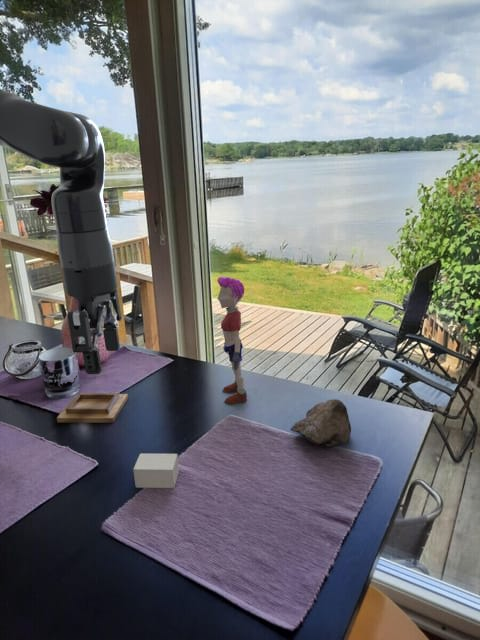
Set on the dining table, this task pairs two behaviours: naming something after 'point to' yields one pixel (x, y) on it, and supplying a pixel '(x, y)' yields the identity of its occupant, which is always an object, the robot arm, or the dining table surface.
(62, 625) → the dining table surface
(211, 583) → the dining table surface
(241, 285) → the toy
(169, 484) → the beige rectangular block
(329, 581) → the dining table surface
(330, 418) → the rock
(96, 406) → the small square wooden tray
